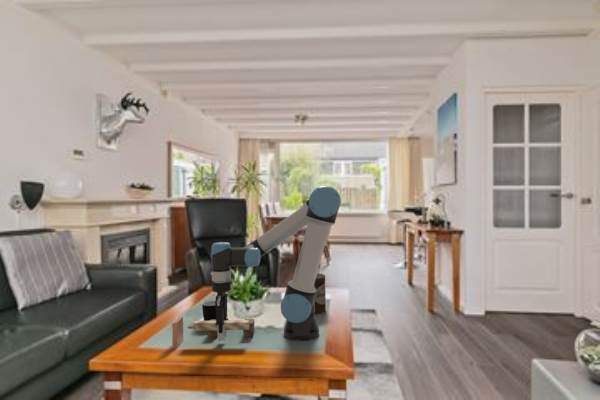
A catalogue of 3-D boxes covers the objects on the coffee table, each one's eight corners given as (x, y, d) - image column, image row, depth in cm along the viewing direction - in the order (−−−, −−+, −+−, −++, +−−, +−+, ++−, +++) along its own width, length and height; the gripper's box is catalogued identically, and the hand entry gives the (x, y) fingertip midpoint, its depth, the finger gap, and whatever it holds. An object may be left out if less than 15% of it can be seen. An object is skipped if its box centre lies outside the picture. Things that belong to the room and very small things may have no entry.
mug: (224, 326, 185) (223, 304, 185) (204, 328, 182) (203, 306, 182) (219, 318, 196) (219, 298, 196) (200, 321, 193) (200, 300, 193)
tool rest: (254, 332, 176) (254, 318, 176) (252, 337, 170) (252, 323, 170) (211, 333, 176) (210, 319, 176) (207, 337, 170) (207, 323, 170)
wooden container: (322, 315, 199) (321, 271, 198) (293, 314, 203) (292, 270, 202) (328, 307, 213) (327, 266, 213) (301, 306, 217) (300, 265, 217)
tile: (183, 340, 167) (182, 316, 167) (177, 348, 159) (176, 323, 159) (178, 340, 167) (178, 316, 167) (172, 348, 159) (171, 323, 159)
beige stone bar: (249, 326, 165) (249, 319, 165) (248, 330, 160) (248, 323, 160) (191, 327, 166) (191, 320, 166) (188, 331, 161) (187, 323, 161)
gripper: (216, 276, 171) (217, 332, 171) (207, 285, 155) (208, 346, 155) (233, 276, 171) (234, 331, 171) (226, 285, 155) (227, 346, 155)
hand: (222, 338), depth 163 cm, fingers closed on beige stone bar, 3 cm apart
